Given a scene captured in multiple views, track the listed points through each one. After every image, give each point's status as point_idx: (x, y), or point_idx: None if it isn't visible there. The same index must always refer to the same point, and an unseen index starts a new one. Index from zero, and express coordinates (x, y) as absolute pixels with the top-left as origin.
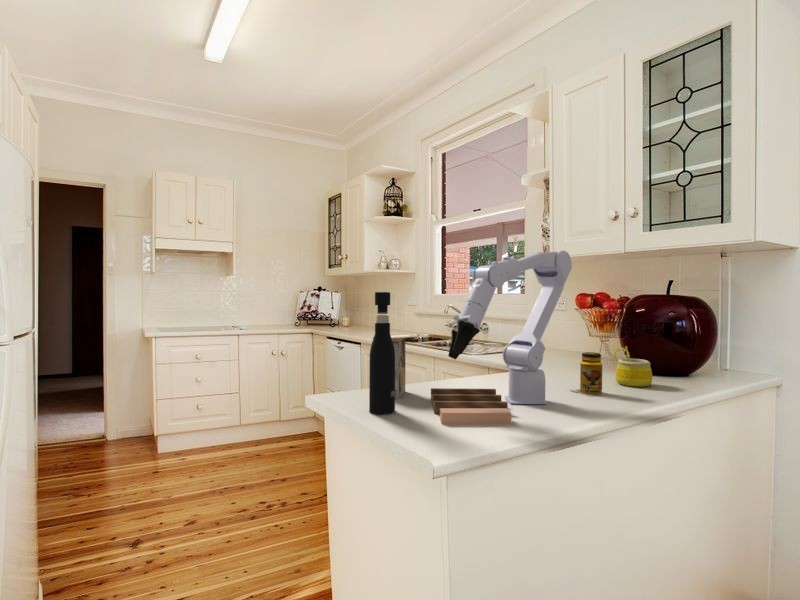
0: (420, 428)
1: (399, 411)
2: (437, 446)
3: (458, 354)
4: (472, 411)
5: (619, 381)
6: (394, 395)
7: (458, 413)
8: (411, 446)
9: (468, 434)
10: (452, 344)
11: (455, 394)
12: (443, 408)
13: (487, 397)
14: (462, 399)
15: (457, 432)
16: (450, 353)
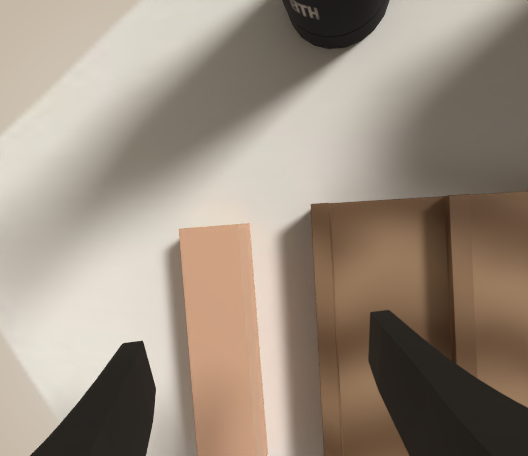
0: (147, 162)
1: (347, 66)
2: (15, 212)
3: (383, 396)
4: (204, 340)
5: None
6: (320, 19)
7: (185, 288)
8: (9, 148)
9: (107, 300)
10: (421, 383)
11: (473, 307)
12: (236, 238)
13: None
14: (452, 333)
15: (121, 271)
16: (376, 332)
